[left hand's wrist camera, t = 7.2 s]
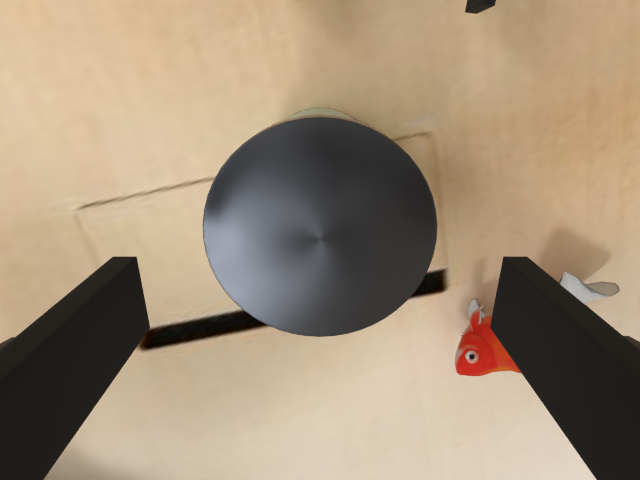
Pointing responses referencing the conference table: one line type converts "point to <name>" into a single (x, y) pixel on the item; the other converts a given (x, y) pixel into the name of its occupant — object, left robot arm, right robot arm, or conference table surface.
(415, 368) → the conference table surface
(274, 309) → the lid
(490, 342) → the fish
